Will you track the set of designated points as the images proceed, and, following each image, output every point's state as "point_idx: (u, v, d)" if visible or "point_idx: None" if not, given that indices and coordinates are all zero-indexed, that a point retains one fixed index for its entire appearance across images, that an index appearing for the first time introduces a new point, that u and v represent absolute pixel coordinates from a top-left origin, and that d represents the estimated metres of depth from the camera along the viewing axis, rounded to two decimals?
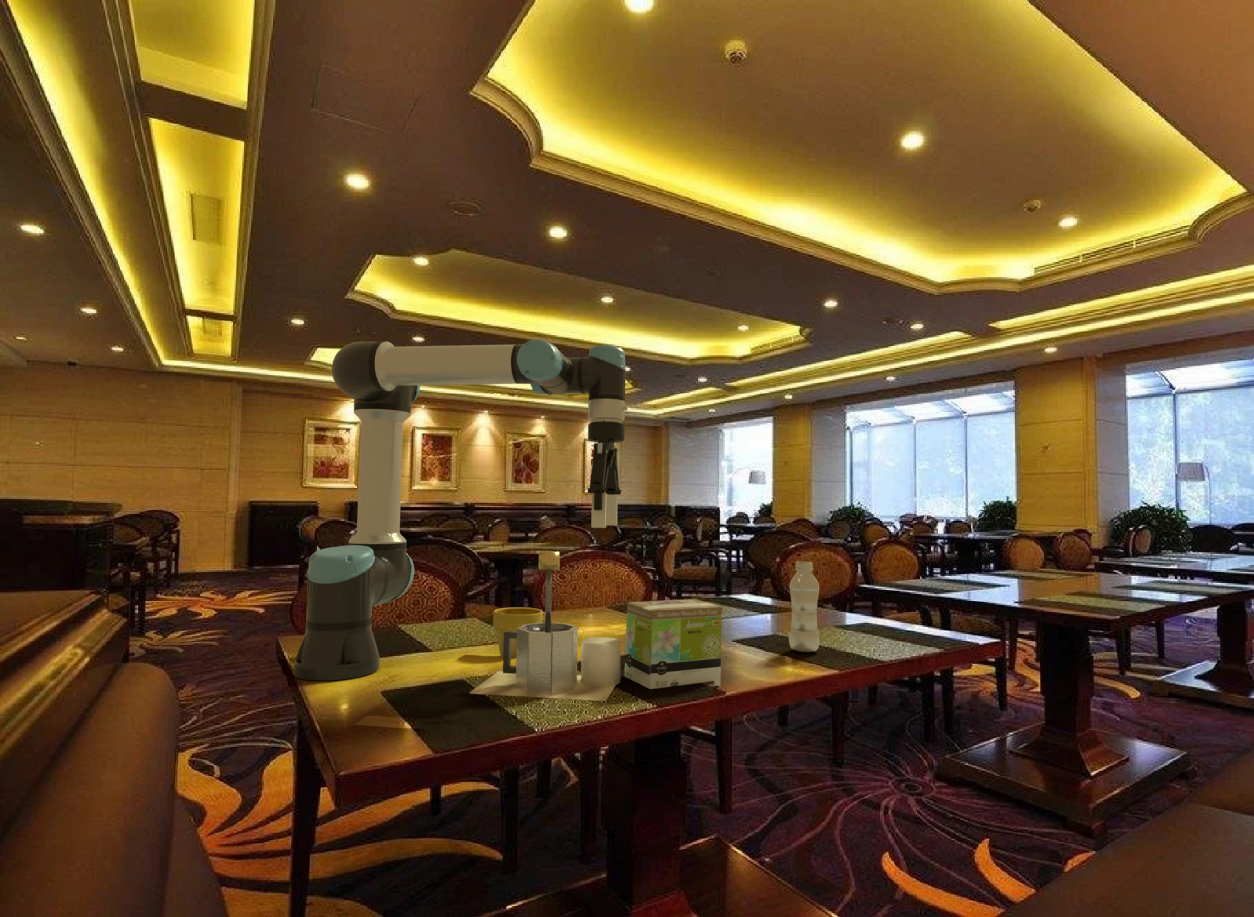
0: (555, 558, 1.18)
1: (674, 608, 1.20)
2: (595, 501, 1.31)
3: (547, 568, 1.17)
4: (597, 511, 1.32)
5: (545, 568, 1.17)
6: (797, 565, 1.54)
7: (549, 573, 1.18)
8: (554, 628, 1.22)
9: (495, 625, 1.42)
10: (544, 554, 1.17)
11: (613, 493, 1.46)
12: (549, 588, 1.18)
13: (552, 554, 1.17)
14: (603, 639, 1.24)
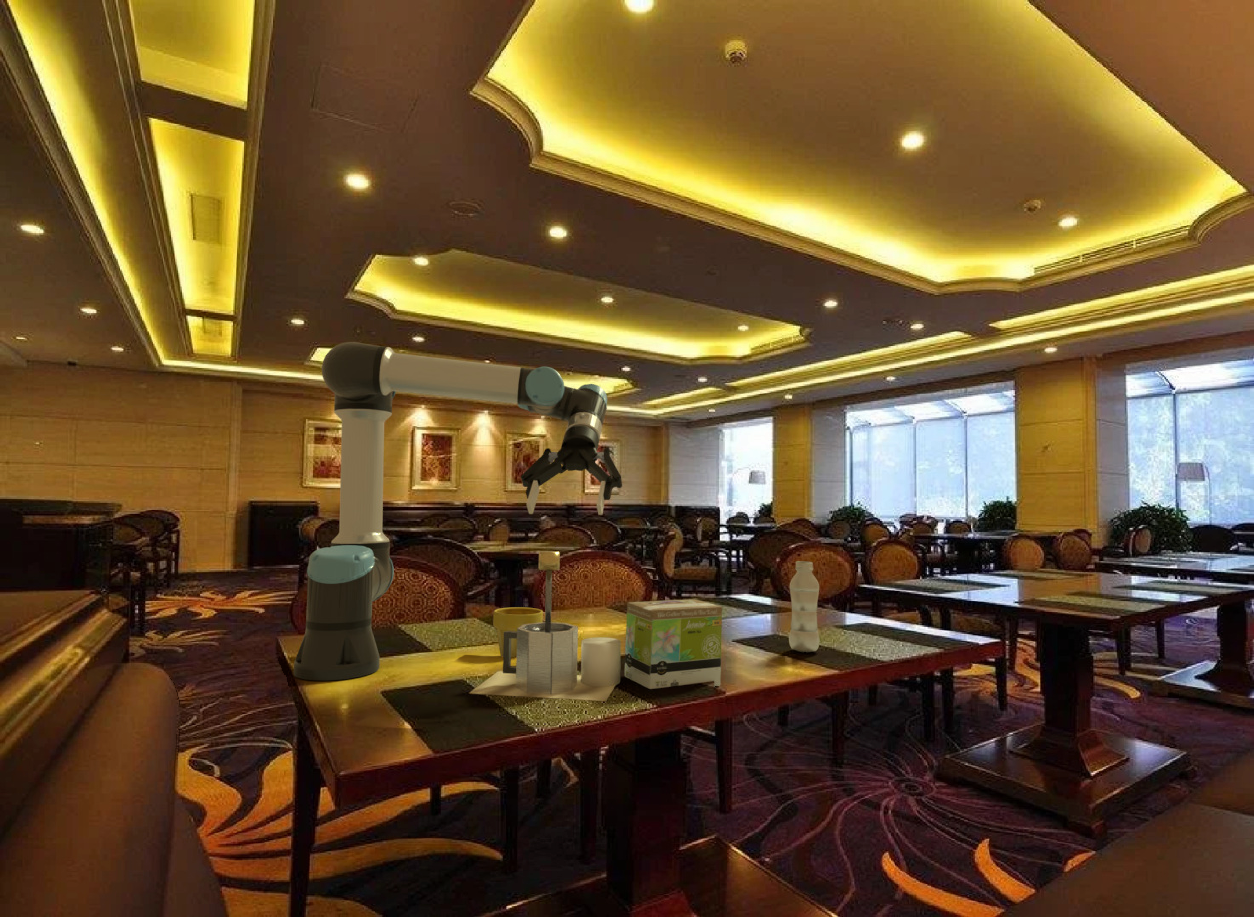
0: (555, 558, 1.18)
1: (674, 608, 1.20)
2: None
3: (547, 568, 1.17)
4: None
5: (545, 568, 1.17)
6: (797, 565, 1.54)
7: (549, 573, 1.18)
8: (554, 628, 1.22)
9: (495, 625, 1.42)
10: (544, 554, 1.17)
11: (605, 483, 1.33)
12: (549, 588, 1.18)
13: (552, 554, 1.17)
14: (603, 639, 1.24)
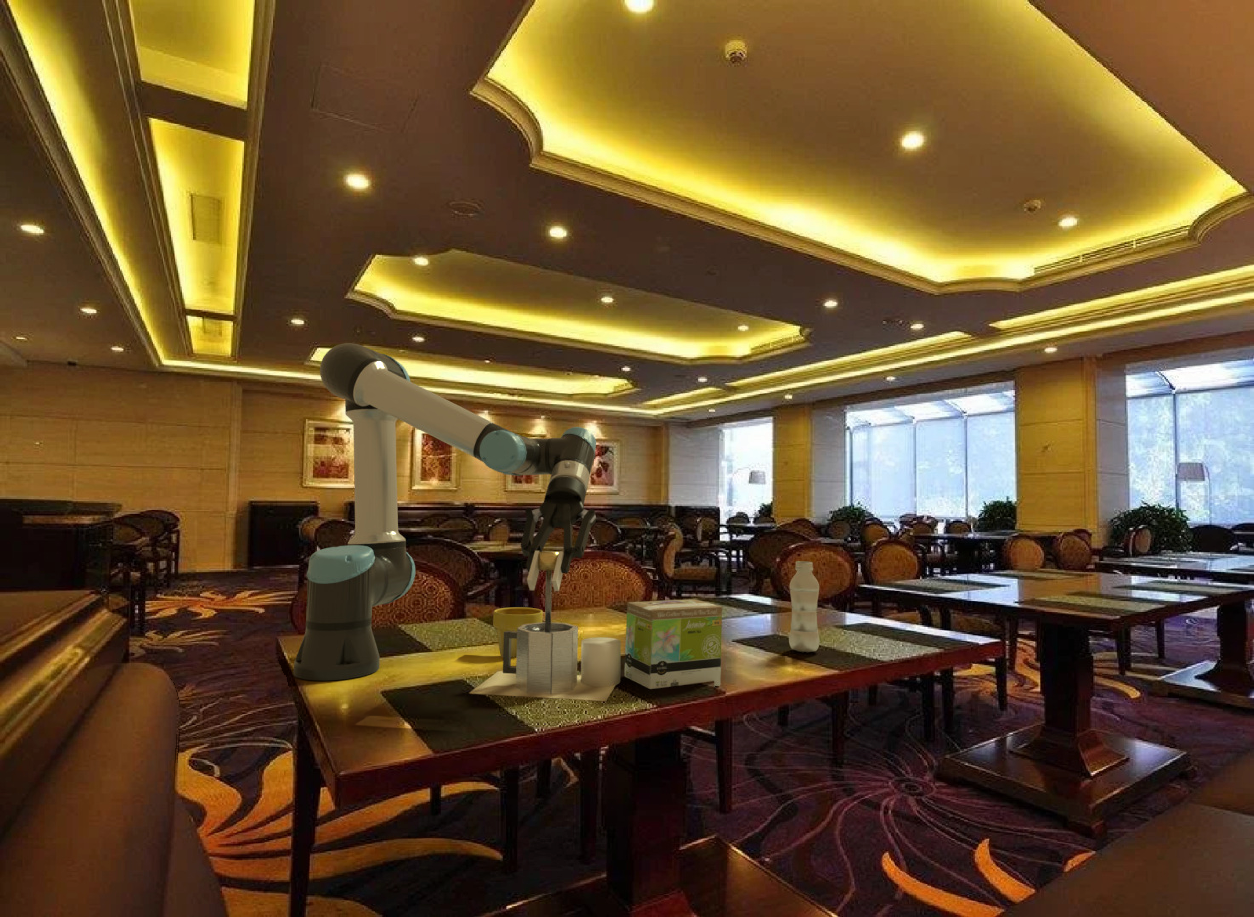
0: (555, 558, 1.18)
1: (674, 608, 1.20)
2: None
3: (547, 568, 1.17)
4: None
5: (545, 568, 1.17)
6: (797, 565, 1.54)
7: (549, 573, 1.18)
8: (554, 628, 1.22)
9: (495, 625, 1.42)
10: (544, 554, 1.17)
11: None
12: (549, 588, 1.18)
13: (552, 554, 1.17)
14: (603, 639, 1.24)
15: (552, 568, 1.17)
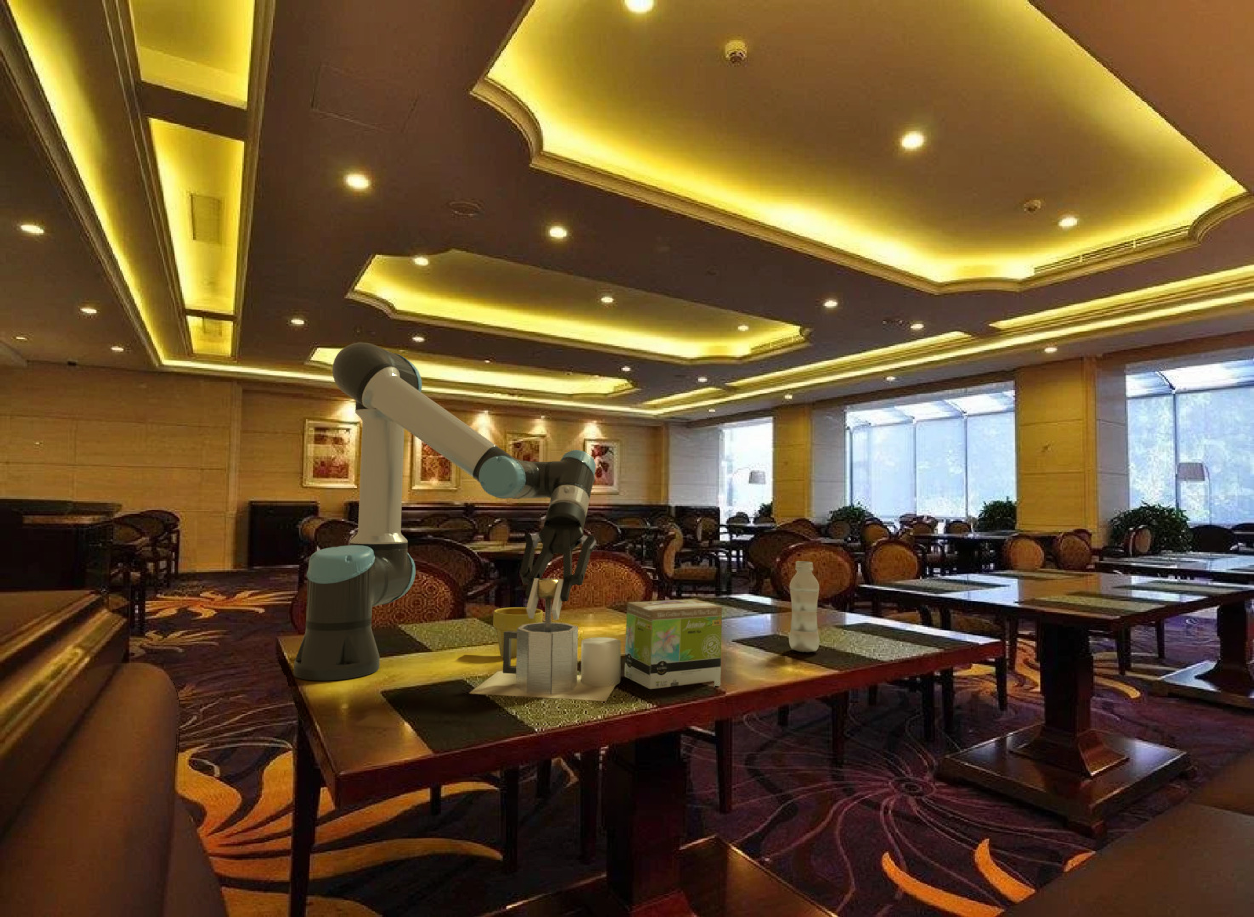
0: (555, 586, 1.17)
1: (674, 608, 1.20)
2: None
3: (546, 596, 1.17)
4: None
5: (544, 596, 1.17)
6: (797, 565, 1.54)
7: (548, 601, 1.18)
8: (554, 628, 1.22)
9: (495, 625, 1.42)
10: (543, 582, 1.17)
11: None
12: (548, 616, 1.18)
13: (551, 582, 1.17)
14: (603, 639, 1.24)
15: (551, 596, 1.17)
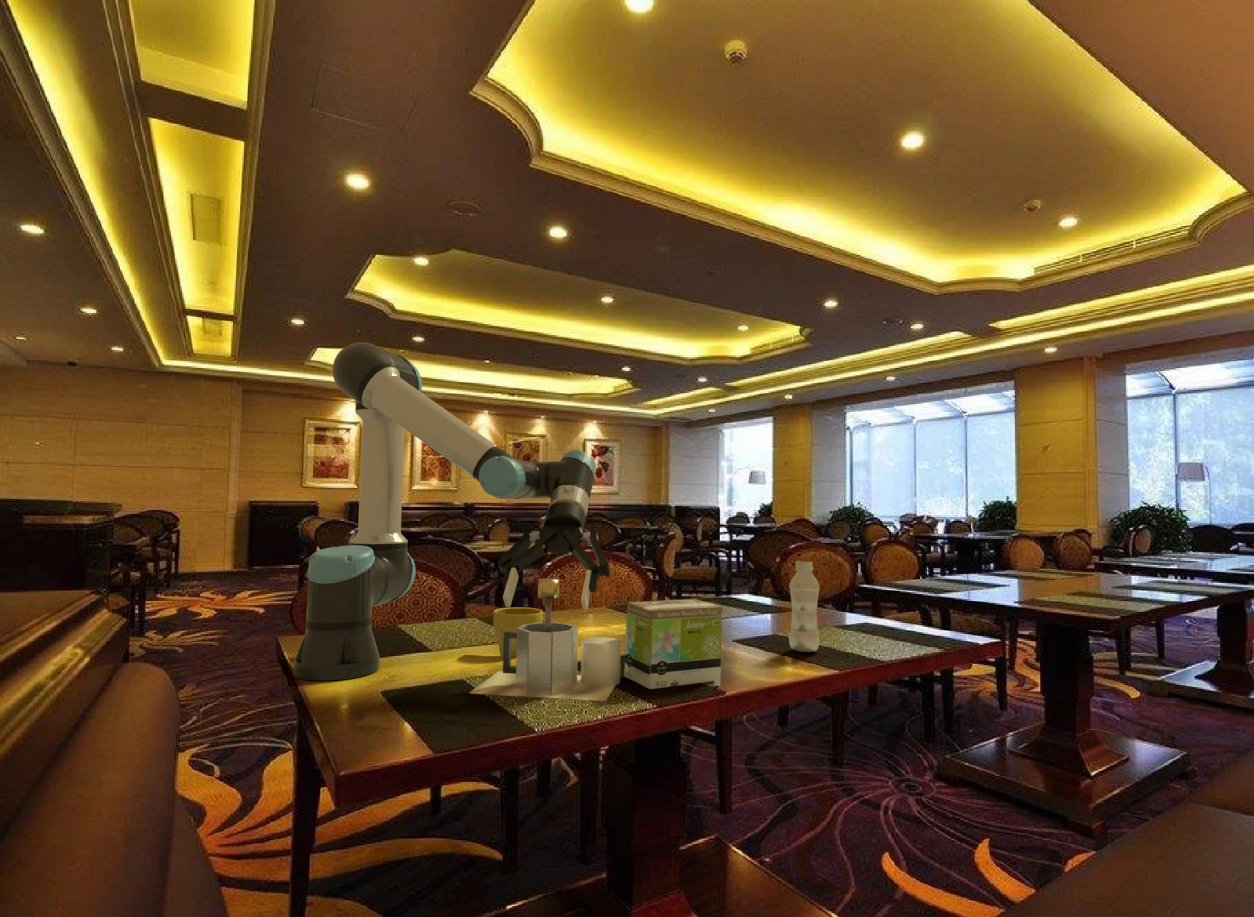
0: (555, 586, 1.17)
1: (674, 608, 1.20)
2: None
3: (546, 596, 1.17)
4: None
5: (544, 596, 1.17)
6: (797, 565, 1.54)
7: (548, 601, 1.18)
8: (554, 628, 1.22)
9: (495, 625, 1.42)
10: (543, 582, 1.17)
11: None
12: (548, 616, 1.18)
13: (551, 582, 1.17)
14: (603, 639, 1.24)
15: (551, 596, 1.17)
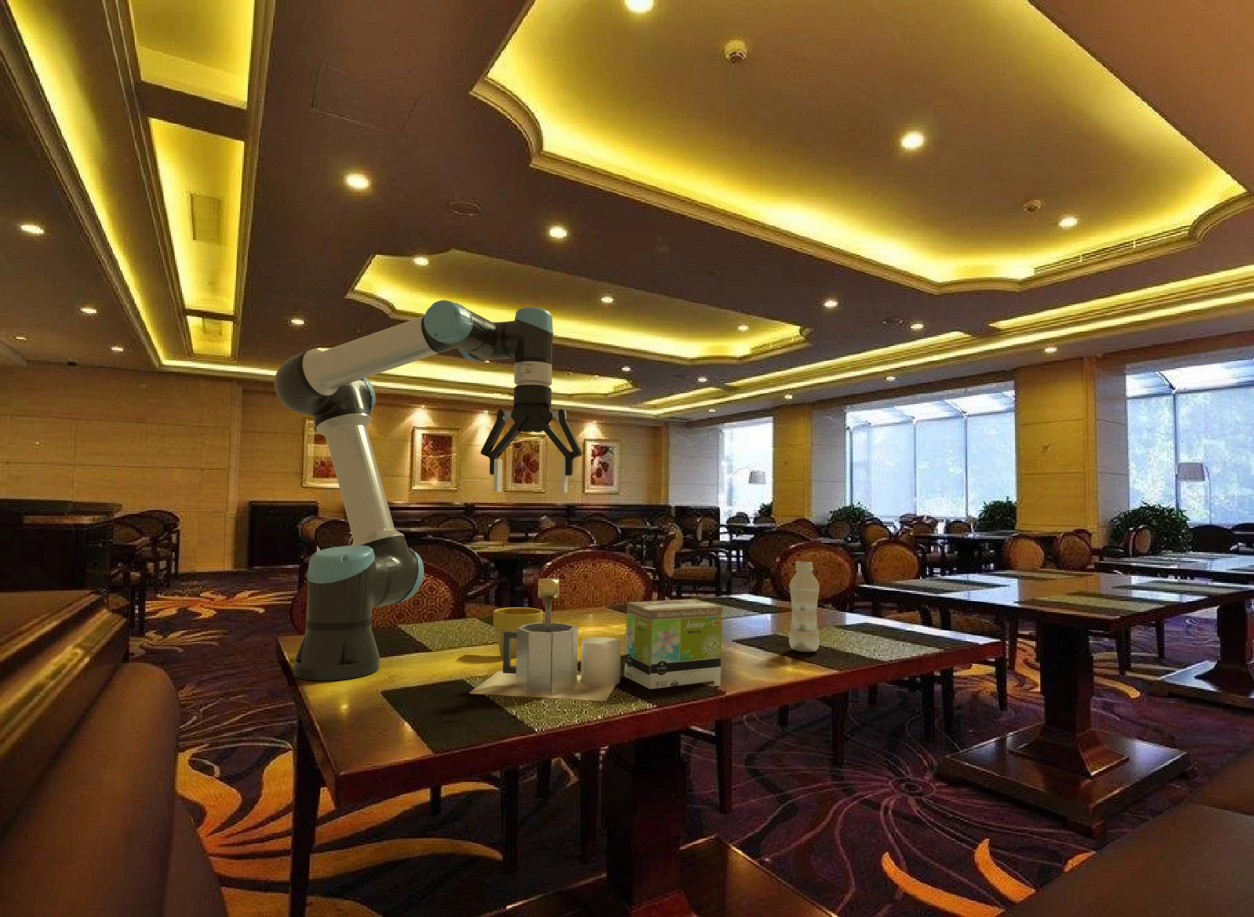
0: (555, 586, 1.17)
1: (674, 608, 1.20)
2: None
3: (546, 596, 1.17)
4: None
5: (544, 596, 1.17)
6: (797, 565, 1.54)
7: (548, 601, 1.18)
8: (554, 628, 1.22)
9: (495, 625, 1.42)
10: (543, 582, 1.17)
11: (565, 458, 1.35)
12: (548, 616, 1.18)
13: (551, 582, 1.17)
14: (603, 639, 1.24)
15: (551, 596, 1.17)
